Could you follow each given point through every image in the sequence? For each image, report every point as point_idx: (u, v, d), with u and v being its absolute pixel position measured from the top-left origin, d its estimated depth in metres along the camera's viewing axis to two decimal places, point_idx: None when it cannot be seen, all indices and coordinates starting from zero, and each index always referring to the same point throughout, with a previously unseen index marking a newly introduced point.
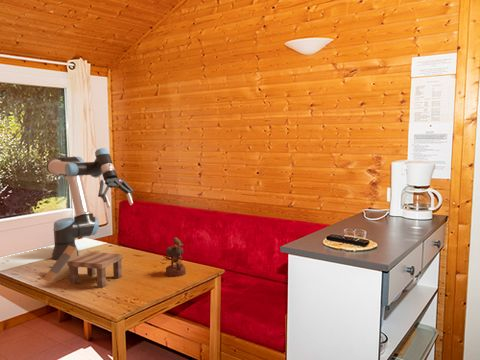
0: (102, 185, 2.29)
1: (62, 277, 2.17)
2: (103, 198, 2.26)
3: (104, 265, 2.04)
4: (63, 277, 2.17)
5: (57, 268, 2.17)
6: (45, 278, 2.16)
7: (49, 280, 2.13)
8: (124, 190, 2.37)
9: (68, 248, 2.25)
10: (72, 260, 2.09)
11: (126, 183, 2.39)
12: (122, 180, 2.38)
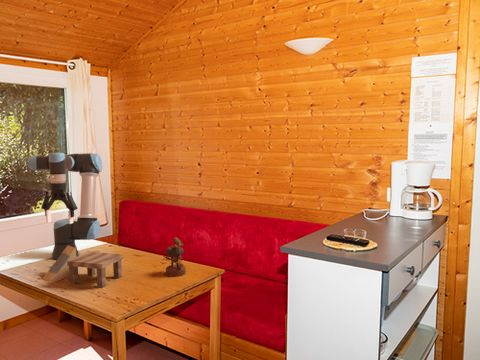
0: (45, 198, 2.17)
1: (61, 277, 2.17)
2: None
3: (104, 265, 2.04)
4: (62, 277, 2.17)
5: (56, 268, 2.17)
6: (44, 278, 2.16)
7: (48, 280, 2.13)
8: None
9: (67, 248, 2.25)
10: (72, 260, 2.09)
11: (69, 199, 2.14)
12: (66, 195, 2.14)
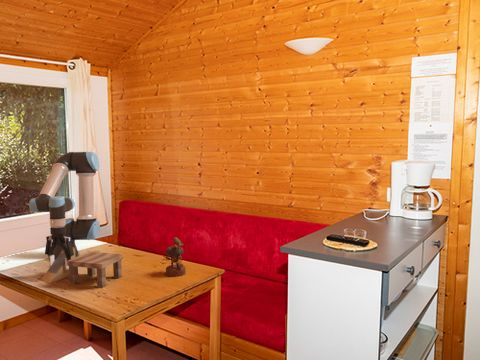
0: (47, 243, 2.19)
1: (61, 277, 2.16)
2: (49, 257, 2.21)
3: (104, 265, 2.04)
4: (62, 277, 2.17)
5: (55, 268, 2.16)
6: (43, 279, 2.15)
7: (48, 280, 2.12)
8: None
9: None
10: (72, 260, 2.09)
11: (68, 245, 2.16)
12: (66, 240, 2.16)
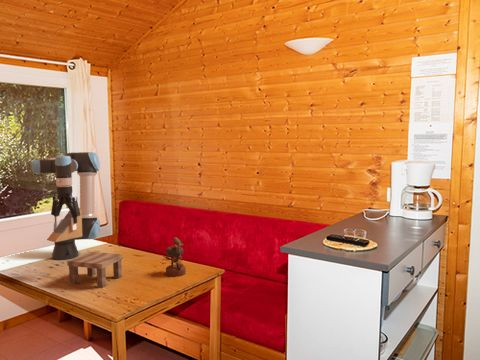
0: (53, 203, 2.16)
1: (67, 237, 2.12)
2: (55, 218, 2.17)
3: (104, 265, 2.04)
4: (68, 237, 2.13)
5: (61, 228, 2.13)
6: (49, 238, 2.11)
7: (54, 240, 2.08)
8: None
9: None
10: (72, 260, 2.09)
11: (74, 204, 2.12)
12: (72, 199, 2.12)
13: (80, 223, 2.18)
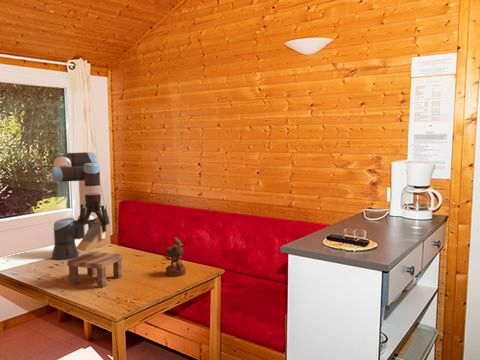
0: (81, 211, 2.11)
1: (96, 246, 2.08)
2: (83, 226, 2.13)
3: (104, 265, 2.04)
4: (97, 246, 2.09)
5: (90, 237, 2.08)
6: (78, 248, 2.07)
7: (83, 249, 2.04)
8: None
9: None
10: (72, 260, 2.09)
11: (103, 213, 2.08)
12: (101, 208, 2.08)
13: (108, 231, 2.14)
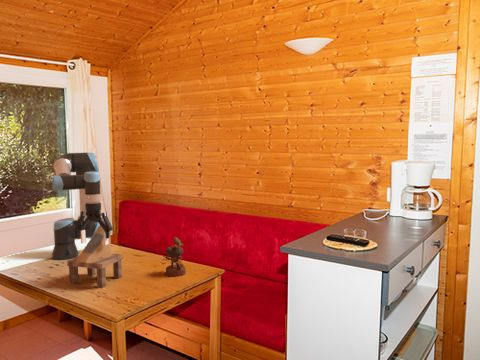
0: (80, 218, 2.12)
1: (97, 258, 2.09)
2: (80, 232, 2.14)
3: (104, 265, 2.04)
4: (98, 258, 2.09)
5: (91, 248, 2.09)
6: (79, 259, 2.07)
7: (84, 261, 2.05)
8: None
9: (100, 228, 2.17)
10: (72, 260, 2.09)
11: (105, 220, 2.08)
12: (102, 215, 2.08)
13: (109, 242, 2.15)
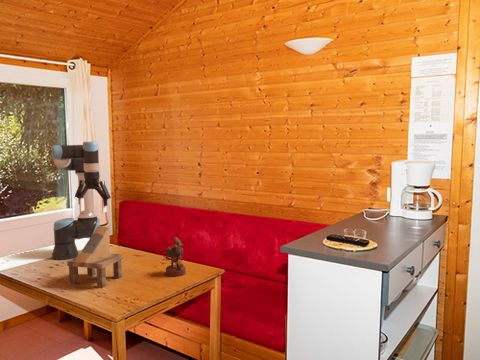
0: (79, 186, 2.19)
1: (96, 257, 2.09)
2: (79, 200, 2.21)
3: (104, 265, 2.04)
4: (97, 257, 2.09)
5: (90, 248, 2.09)
6: (78, 259, 2.07)
7: (84, 261, 2.05)
8: None
9: (99, 228, 2.17)
10: (72, 260, 2.09)
11: (103, 188, 2.15)
12: (100, 183, 2.15)
13: (108, 242, 2.15)
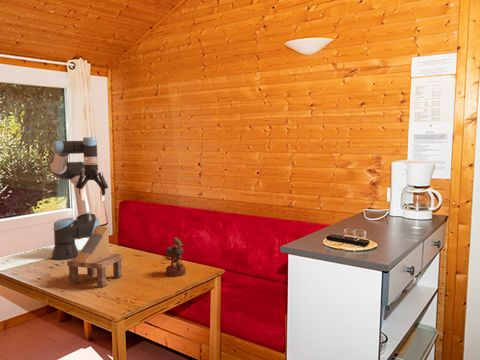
0: (79, 178, 2.43)
1: (95, 257, 2.09)
2: None
3: (104, 265, 2.04)
4: (96, 257, 2.09)
5: (90, 248, 2.09)
6: (77, 259, 2.07)
7: (83, 261, 2.05)
8: None
9: (98, 228, 2.17)
10: (72, 260, 2.09)
11: (101, 179, 2.39)
12: (98, 175, 2.39)
13: (107, 242, 2.15)
